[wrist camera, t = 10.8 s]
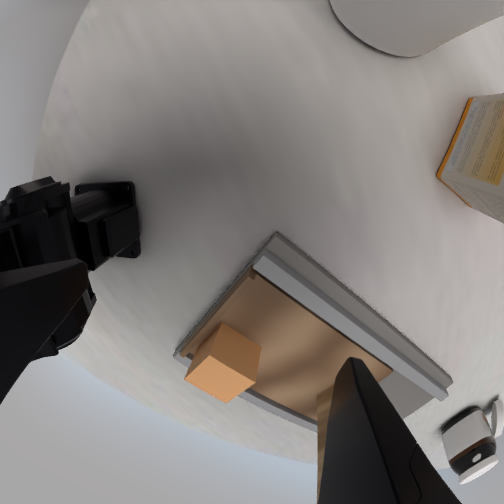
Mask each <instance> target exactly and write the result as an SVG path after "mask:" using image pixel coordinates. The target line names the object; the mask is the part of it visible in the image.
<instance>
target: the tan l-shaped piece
mask: <svg viewBox="0 0 504 504" xmlns="http://www.w3.org/2000/svg"><path fill="white" fill-rule="evenodd" d="M221 322H223V323H225V324H226V325H228V326H229V327H231V328H232V329H234V330H235V331H237V332H238V333H240V334H241V335H243V336H245V337H246V338H248V339H249V340H251V341H252V342H254V343H256V344H257V345H259V346H260V347H261V353H260V359H259V366H258V372H257V378H256V383H254V384H253V385H252V386H250V387H249V388H250V389H252V390H254V391H256V392H258V393H260V394H262V395H264V396H266V397H268V398H270V399H271V400H273V401H275V402H277V403H280V404H282V405H284V406H286V407H288V408H290V409H292V410H294V411H296V412H298V413H301V414H303V415H305V416H307V417H310V418H312V419H314V420H316V421H317V430H318V483H317V504H318V498H319V491H320V484H321V477H322V469H323V461H324V452H325V442H326V431H327V421H328V416H329V411H330V405H331V400H332V394H333V389H334V383H335V378H336V375H337V373H338V372H339V370H340V369H341V367H342V366H343V364H344V363H345V361H346V360H347V358H349V357H355V358H360V359H362V360H363V361H364V363H365V364H366V366H367V367H368V369H369V370H370V372H371V373H372V375H373V376H374V377H375V379H376V380H377V382H378V383H379V382H380V381H382V380H383V379H384V378H386V377H387V376H389V375H390V374H391V373H393V372H394V371H393V368H392V367H390V366H389V365H388V364H386V363H385V362H383V361H382V360H380V359H379V358H378V357H376V356H375V355H373V354H372V353H371V352H369V351H368V350H366V349H365V348H363V347H362V346H361V345H359V344H358V343H356V342H355V341H354V340H352V339H351V338H349V337H348V336H347V335H345V334H344V333H342V332H341V331H339V330H338V329H337V328H335V327H334V326H332V325H331V324H330V323H328V322H327V321H326V320H324V319H323V318H321V317H320V316H319V315H317V314H316V313H314V312H313V311H312V310H310V309H309V308H307V307H306V306H305V305H303V304H302V303H301V302H299V301H298V300H296V299H295V298H294V297H292V296H291V295H289V294H288V293H287V292H285V291H284V290H283V289H281V288H280V287H278V286H277V285H276V284H274V283H273V282H272V281H270V280H269V279H267V278H266V277H265V276H263V275H262V274H261V273H259V272H258V271H257V270H255V269H254V268H253V265H251V267H250V268H249V269H248V270H247V271H246V272H245V274H244V275H243V276H242V277H241V278H240V279H239V281H238V282H237V283H236V284H235V285H234V286H233V288H232V289H231V290H230V291H229V292H228V293H227V295H226V296H225V297H224V298H223V299H222V300H221V302H220V303H219V304H218V305H217V306H216V307H215V308H214V310H213V311H212V312H211V313H210V314H209V315H208V317H207V318H206V319H205V320H204V321H203V322H202V323H201V325H200V326H199V327H198V328H197V329H196V330H195V332H194V333H193V334H192V335H191V336H190V337H189V338H188V340H187V341H186V342H185V344H184V346H183V348H182V350H181V352H180V354H179V355H180V356H181V357H183V358H184V357H185V356H186V355H187V354H188V353H189V352H190V353H191V354H193V355H195V353H196V350H197V348H198V347H199V345H200V344H201V343H202V342H203V341H204V340H205V339H206V338H207V337H208V336H209V335H210V334H211V333H212V332H213V331H214V330H215V328H216V327H217V326H218V325H219V324H220V323H221Z"/></svg>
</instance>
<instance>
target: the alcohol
mask: <svg viewBox="0 0 504 504" xmlns="http://www.w3.org/2000/svg"><path fill="white" fill-rule="evenodd" d="M330 3H331V6H332V8H333V11H334V12H335V14H336V15H337V17H338V19H339V20H340V21H341V22H342V23H343V24H344V26H345V27H346V28H347V29H348V30H350V31H351V32H352V33H353V34H354V35H355V36H356V37H358V38H359V39H361V40H362V41H364V42H365V43H367V44H369V45H371V46H372V47H374V48H376V49H378V50H381V51H384V52H386V53H389V54H393V55H397V56H404V57H414V56H420V55H423V54H426V53H428V52H430V51H431V50H433V49H435V48H437V47H439V46H440V45H442V44H444V43H446V42H448V41H450V40H452V39H454V38H456V37H457V36H459V35H461V34H463V33H465V32H467V31H469V30H471V29H474V28H476V27H478V26H480V25H482V24H484V23H486V22H489V21H491V20H493V19H495V18H498V17H500V16H502V15H504V0H330Z"/></svg>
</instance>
